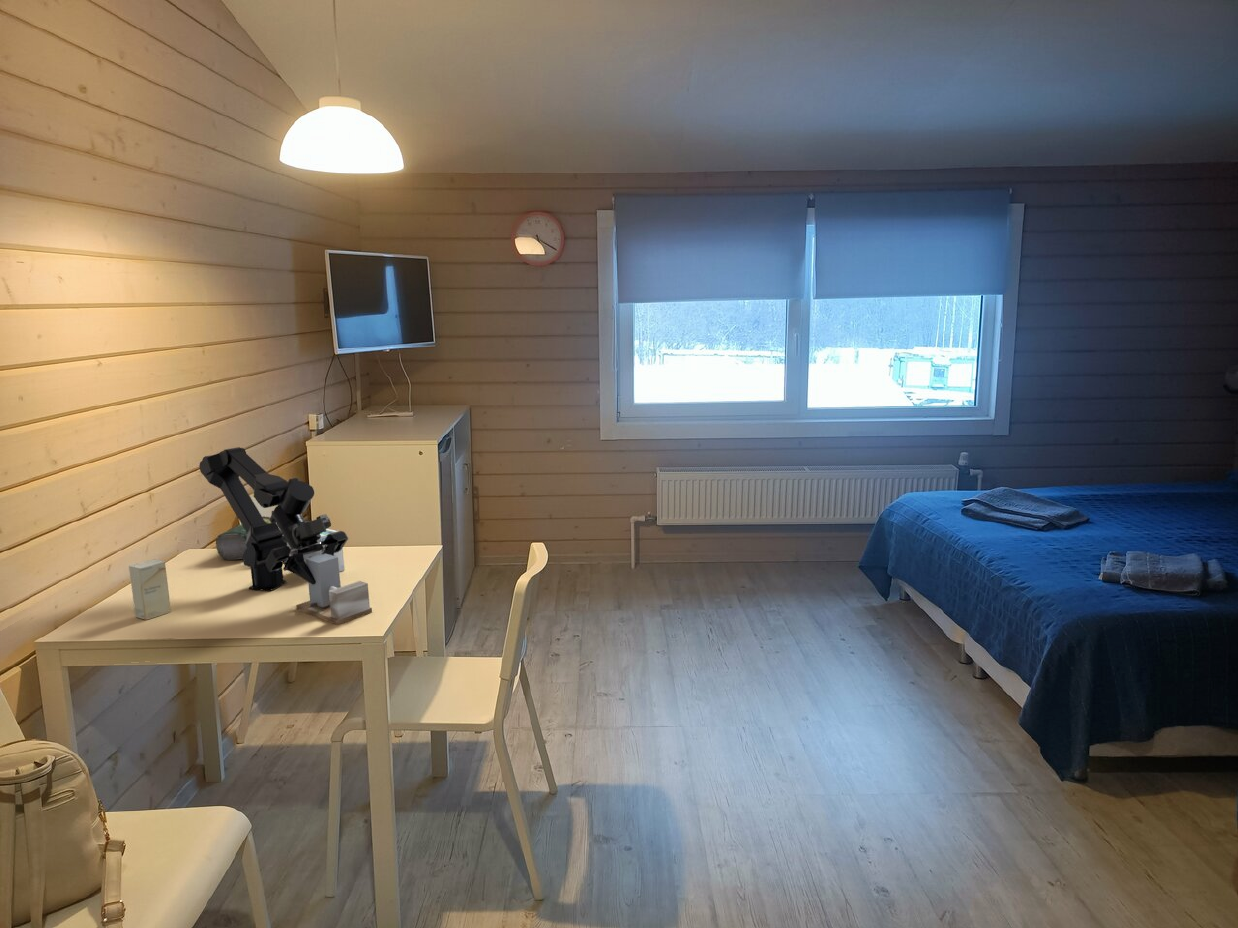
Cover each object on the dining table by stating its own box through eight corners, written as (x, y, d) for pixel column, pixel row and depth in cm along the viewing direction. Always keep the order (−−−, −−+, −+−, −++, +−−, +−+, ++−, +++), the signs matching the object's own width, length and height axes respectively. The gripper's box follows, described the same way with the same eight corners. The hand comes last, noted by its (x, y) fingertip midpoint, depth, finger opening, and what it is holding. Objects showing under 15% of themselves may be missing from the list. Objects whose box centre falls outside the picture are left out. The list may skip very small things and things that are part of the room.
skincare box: (145, 620, 193) (138, 569, 191) (134, 617, 196) (127, 565, 193) (172, 611, 199) (165, 561, 196) (161, 608, 201) (154, 558, 198)
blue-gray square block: (304, 604, 197) (300, 560, 195) (329, 596, 202) (325, 553, 200) (321, 610, 193) (316, 565, 191) (345, 602, 198) (341, 558, 196)
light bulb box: (345, 570, 225) (342, 530, 223) (324, 578, 219) (320, 537, 217) (318, 563, 231) (314, 525, 228) (297, 571, 225) (293, 531, 223)
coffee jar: (251, 559, 234) (283, 539, 252) (245, 531, 232) (278, 513, 250) (217, 562, 235) (252, 542, 253) (211, 534, 233) (246, 516, 251)
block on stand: (296, 609, 198) (293, 580, 197) (330, 597, 205) (328, 569, 204) (337, 624, 189) (334, 594, 187) (372, 612, 196) (369, 582, 194)
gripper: (266, 514, 190) (299, 572, 185) (340, 497, 204) (372, 550, 200) (251, 543, 196) (283, 599, 192) (323, 524, 210) (354, 576, 206)
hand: (325, 580), depth 197 cm, fingers closed on blue-gray square block, 5 cm apart
